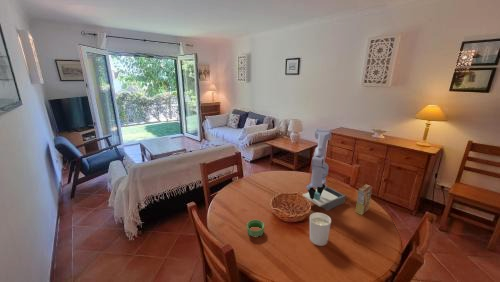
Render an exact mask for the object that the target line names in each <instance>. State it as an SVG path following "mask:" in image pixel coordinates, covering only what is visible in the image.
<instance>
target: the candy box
mask: <svg viewBox="0 0 500 282" xmlns="http://www.w3.org/2000/svg"><path fill="white" fill-rule="evenodd" d="M372 192H373V186H372V185H370V184H369V185H368V184H367V183H365V184H364V185H362V186H361V187H359V188H358V191H357V198H356V199H357V200H356V204H355V213H357V214H358V215H360V216H363V215H364V214H365V213H366V212H368V211H369V209H370V203H371V198H372Z"/></svg>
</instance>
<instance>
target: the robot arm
mask: <svg viewBox="0 0 500 282" xmlns="http://www.w3.org/2000/svg"><path fill="white" fill-rule="evenodd" d="M314 132H315V133H314V137H315V140H317V146H316V147H315V148H314V153H313V157H312V158H311V169H312V170H311V178H310V183H309V184H307V185H306V187H305V189H306V190H307V193H308V192H309V195H310V198H311V199H314V194H315V191H316V189H317V192H318V193H320V196H321V194H322V191H323V190H324V188H325V187H328V185H326V184H327V180H326V177H327V176H328V175H329V165H328V163H327V162H325V160H326V152H327V150H326V149H327V141H330V140H331V139H332V138H331V137H332V129H327V128H315V131H314ZM315 188H316V189H315Z"/></svg>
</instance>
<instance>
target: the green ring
mask: <svg viewBox="0 0 500 282" xmlns="http://www.w3.org/2000/svg"><path fill="white" fill-rule="evenodd" d="M251 227H259V228H261V230H258V231H253V230H250V228H251ZM246 228H247V230H246V231H247V234H248V235H249V236H250V235H251V236H256V237H255V238H258V237H257V236H260V237H262V235H263V234H264V228H265V224H264V222H263V221H262V220H260V219H252V220H250V221H248V222H247V224H246ZM251 236H250V237H251Z"/></svg>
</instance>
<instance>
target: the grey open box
mask: <svg viewBox="0 0 500 282" xmlns="http://www.w3.org/2000/svg"><path fill="white" fill-rule="evenodd" d="M324 190H325V191H327V192H329V193H331V194H333V195H335V196H337V197H338V199H336V200H334V201H331V202H329V203H327V204H325V205H322V206H320V208H321V209H324V210H325V211H328V212H329V211H330V210H332V209H335V208H337V207H338V206H340V205H343V204H345V202H346V195H345V194H344V193H341V192H339V191H337V190H336V189H333V188H332V187H330V186H327V187H325V188H324Z"/></svg>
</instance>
